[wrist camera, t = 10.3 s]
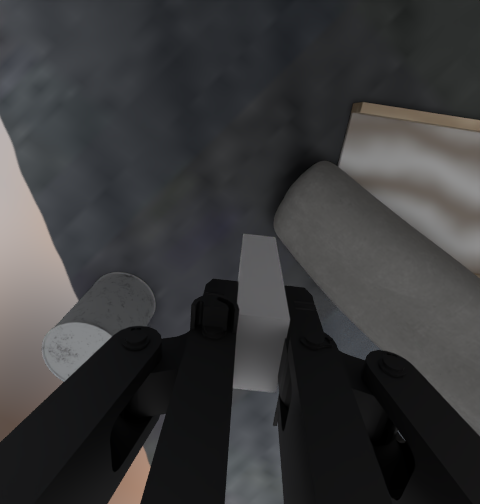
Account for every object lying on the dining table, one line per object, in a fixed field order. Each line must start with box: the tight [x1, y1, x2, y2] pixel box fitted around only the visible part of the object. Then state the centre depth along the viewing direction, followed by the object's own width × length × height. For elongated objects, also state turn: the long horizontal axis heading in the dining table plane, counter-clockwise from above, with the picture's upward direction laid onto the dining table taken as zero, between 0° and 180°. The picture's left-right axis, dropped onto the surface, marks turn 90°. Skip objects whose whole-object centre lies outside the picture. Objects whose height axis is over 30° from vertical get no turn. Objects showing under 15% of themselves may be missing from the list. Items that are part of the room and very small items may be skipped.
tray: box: [338, 102, 480, 278], centre depth 39 cm, size 19×32×4 cm, turn 82°
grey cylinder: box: [42, 272, 156, 382], centre depth 43 cm, size 10×10×12 cm
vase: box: [273, 161, 480, 436], centre depth 34 cm, size 12×12×30 cm
